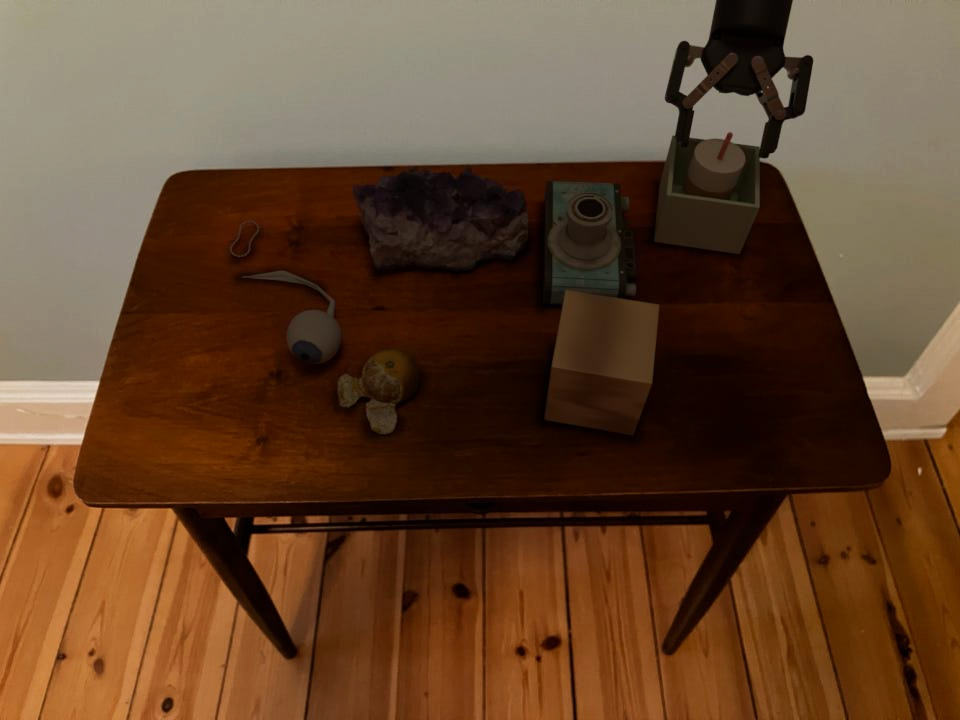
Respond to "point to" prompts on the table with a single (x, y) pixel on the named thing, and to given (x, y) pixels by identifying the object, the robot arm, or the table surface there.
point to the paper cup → (714, 169)
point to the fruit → (381, 387)
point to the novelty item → (310, 325)
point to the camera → (587, 241)
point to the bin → (706, 205)
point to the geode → (441, 220)
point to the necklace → (250, 240)
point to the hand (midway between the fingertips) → (723, 152)
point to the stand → (602, 362)
